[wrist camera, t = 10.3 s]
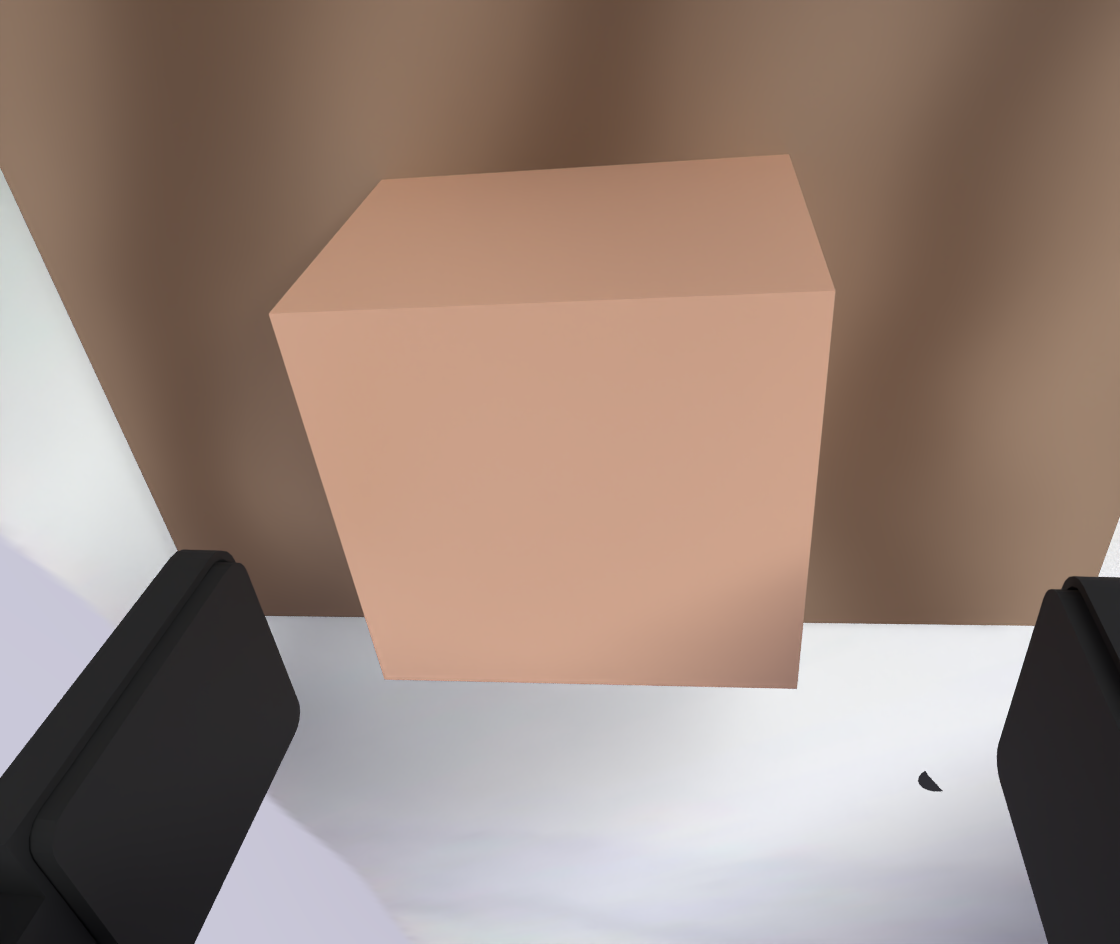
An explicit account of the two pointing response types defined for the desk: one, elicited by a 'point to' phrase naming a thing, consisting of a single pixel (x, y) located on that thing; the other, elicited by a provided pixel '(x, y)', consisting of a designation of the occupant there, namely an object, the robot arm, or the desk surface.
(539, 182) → the peach tapered block
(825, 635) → the desk surface
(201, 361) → the board
